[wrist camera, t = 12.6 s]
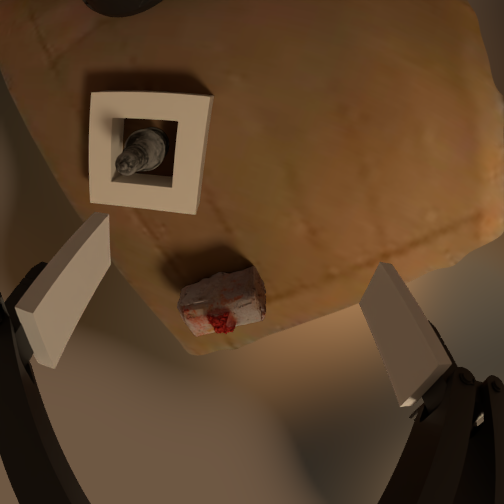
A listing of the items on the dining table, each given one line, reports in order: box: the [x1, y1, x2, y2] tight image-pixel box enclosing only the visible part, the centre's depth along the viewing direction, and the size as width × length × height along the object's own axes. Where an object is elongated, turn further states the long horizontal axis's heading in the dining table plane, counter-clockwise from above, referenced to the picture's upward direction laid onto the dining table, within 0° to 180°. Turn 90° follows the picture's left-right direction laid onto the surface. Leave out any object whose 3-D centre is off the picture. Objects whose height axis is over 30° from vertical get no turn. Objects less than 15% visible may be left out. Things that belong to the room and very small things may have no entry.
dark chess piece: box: [115, 127, 169, 176], centre depth 34 cm, size 6×6×12 cm
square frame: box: [89, 90, 214, 215], centre depth 37 cm, size 16×16×4 cm
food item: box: [177, 266, 266, 337], centre depth 49 cm, size 14×8×10 cm, turn 111°
